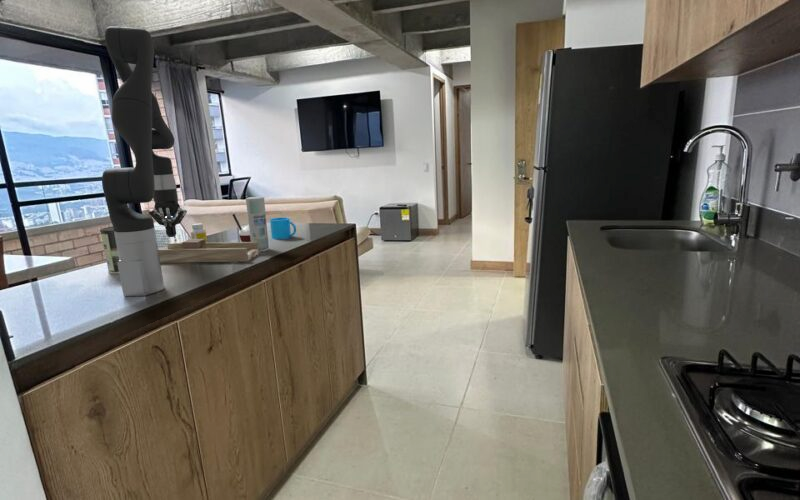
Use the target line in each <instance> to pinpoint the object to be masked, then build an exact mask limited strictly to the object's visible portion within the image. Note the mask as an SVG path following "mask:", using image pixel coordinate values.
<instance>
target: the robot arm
mask: <svg viewBox="0 0 800 500" xmlns="http://www.w3.org/2000/svg"><path fill="white" fill-rule="evenodd" d="M104 40H105V41H104V43H105V47H106V49H107V52H108V54H109V57H110V59H111V61H112V64H113V65H114V68H115V70H116V71H117V74H118V75H119V78H120V80H121V81H122V84H121V85H120V86H119V88H117V90H116V92H115V93H114V94H113V97H112V101H111V103H112V104H111V105H112V106H111V120H112V124H113V126H114V128H115V129H116V131H117V132H118V133H119V135H120V137H121V138H122V139H123V140H124V142H125V143H126V144H127V145H128V146H129V148H130V149H131V151H132V153H133V155H134V159H135V165H134V167H115V168H114V167H113V168H112V167H111V168H106V169H105V170H103V173H102V177H101V184H102V185H101V187H102V190H103V191H102V192H103V195H104V198H105V202H106V206H107V209H108V214H109V219H110V221H111V222H110V223H111V224H112V225H111V226H112V227H113V229H114V234H115V239H116V245H117V250H118V256H119V261H118V262H117V264H118V269H119V274H118V275H119V278H120V284H121V289H122V294H123V297H132V296H133V297H138V296H139V297H143V296H144V297H146V296H148V295H151V294H155V293H158V292H160V291H162V290H164V288H165V282H164V278H163V271H162V265H161V264H162V263H160V258H159V252H158V249H159V247H158V246H159V245H158V241H157V235H156V229H155V228H156V227H155V221H156V223H157V224H158V225H159V226H163V227H165V233H166V236H167V237H168V238H173V237H176V235H177V229H176V226H177V225H180V224H181V222H182V220H183V219H184V218H185V217H186V215H187V213H188V211H187V210H186V209H183V208H181V205H180V204H179V197H178V191H177V190H178V189H177V183H176V179H175V175H174V171H173V163H172V159H171V158H170V157H168V156H163V155H157V154H156V153H155V152H154V150H171V149H172V148H173V147H174V145H175V136H174V135H173V133H172V130H171V129H170V127H169V126H168V125H167V123H166V121H165V120H164V117H163V115H162V112H161V111H162V110H161V108H160V105H159V101H158V99H157V97H156V96H155V94H154V92H153V91H152V88H153V86H152V84H153V83H152V82H153V72H154V71H153V70H154V59H155V47H154V40H153V37H152V35H151V33H150V32H149V31H148V30H146V29H143V28H139V27H130V26H129V27H127V26H111V25H110V26H107V27H106V29H105V31H104ZM130 64H133V65H135V66H134V69H133V70H132V68H131V66H130ZM151 201H153V202H154V205H153V206H154V208H153V210H150V211H149V212H148V213H149V215H147V214H142V213H139V212H136V211H135V210H133V209H131V208H130V207H129V205H130V204H145V203H151ZM128 204H129V205H128Z"/></svg>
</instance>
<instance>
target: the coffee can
mask: <svg viewBox="0 0 800 500" xmlns="http://www.w3.org/2000/svg"><path fill="white" fill-rule="evenodd" d="M99 232H100V233H101V239H102V244H103V250H104V254H105V260H106V264H107V265H106V266H107V269H108V270H107V271H108V274H112V275H120V274H119V269H118V264H117V262H118V261H119V256H118V250H117V245H116V239H115V234H114V229H113V226H109V227H108V226H107V227H103V228H101V229H100V230H99Z"/></svg>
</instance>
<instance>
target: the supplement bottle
mask: <svg viewBox="0 0 800 500" xmlns="http://www.w3.org/2000/svg"><path fill="white" fill-rule="evenodd" d="M190 237H191V238H190V239H205V240H206V243H208V238H207V232H206V229H205V228H204V224H203V223H192V224H191V230H190Z"/></svg>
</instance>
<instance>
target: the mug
mask: <svg viewBox="0 0 800 500" xmlns="http://www.w3.org/2000/svg"><path fill="white" fill-rule="evenodd" d="M269 224H270V234H271V239H272V240H287V239H289V238H291V237H293V236H294V235H295V234H296V232H297V226H296V225H295V223H294V222H292V221H291V219H290V218H289V217H274V218H270V219H269ZM291 226H292V228H293V232H291Z"/></svg>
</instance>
